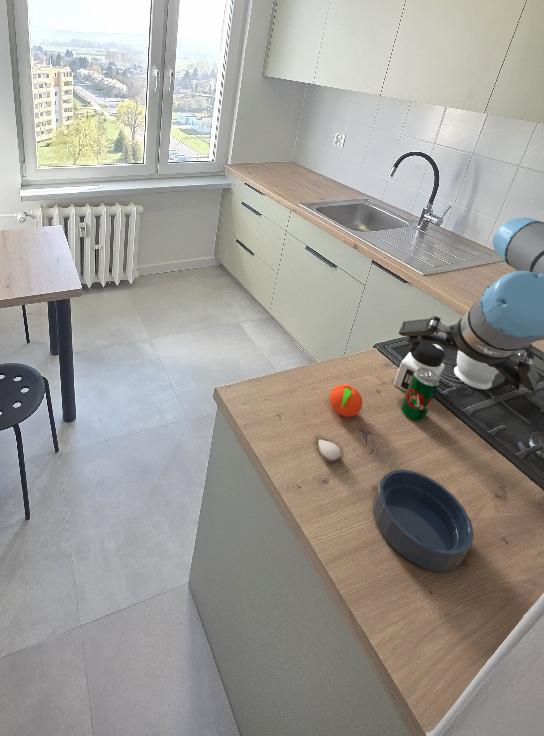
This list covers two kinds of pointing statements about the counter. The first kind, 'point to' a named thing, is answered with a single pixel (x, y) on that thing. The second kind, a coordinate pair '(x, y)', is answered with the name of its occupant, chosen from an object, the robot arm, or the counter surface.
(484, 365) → the jar
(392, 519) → the bowl
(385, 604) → the counter surface
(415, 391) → the soda can
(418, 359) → the container
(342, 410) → the clementine
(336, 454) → the garlic clove
